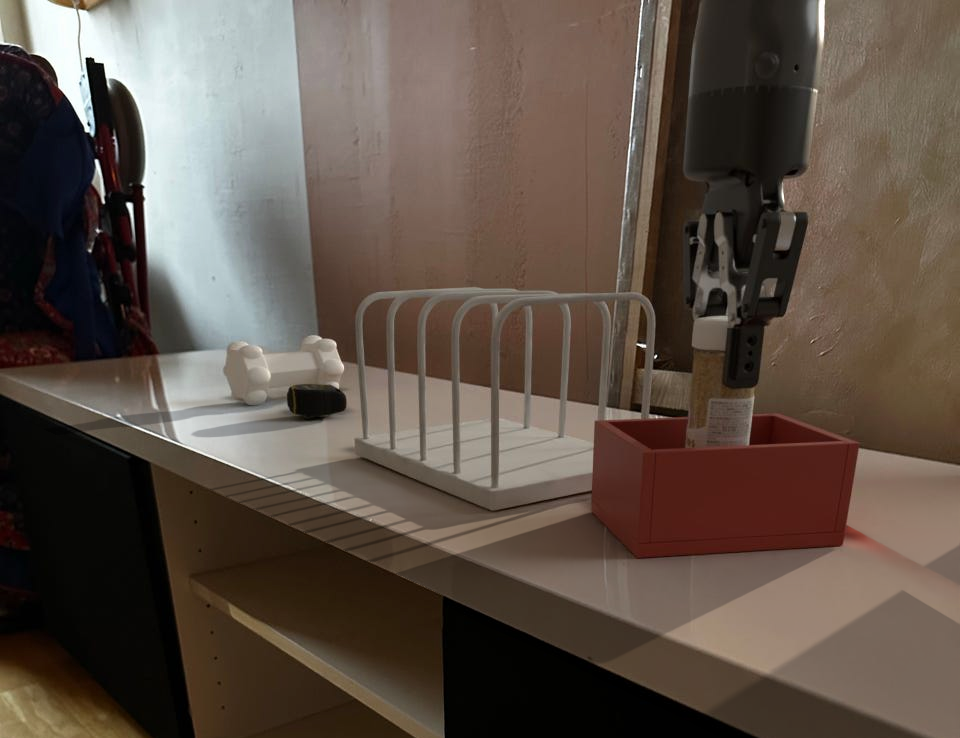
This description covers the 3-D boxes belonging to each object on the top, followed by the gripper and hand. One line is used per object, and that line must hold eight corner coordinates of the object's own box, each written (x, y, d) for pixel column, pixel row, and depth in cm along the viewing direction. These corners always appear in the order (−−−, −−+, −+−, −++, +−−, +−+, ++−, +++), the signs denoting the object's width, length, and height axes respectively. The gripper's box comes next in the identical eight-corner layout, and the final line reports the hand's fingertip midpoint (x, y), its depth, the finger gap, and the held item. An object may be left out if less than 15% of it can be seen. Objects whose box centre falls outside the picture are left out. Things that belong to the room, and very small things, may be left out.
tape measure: (349, 419, 107) (347, 388, 105) (293, 423, 105) (290, 391, 103) (337, 410, 113) (335, 381, 111) (284, 414, 111) (281, 384, 109)
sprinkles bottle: (675, 505, 65) (689, 315, 60) (736, 505, 65) (757, 314, 59) (682, 522, 61) (698, 320, 56) (748, 523, 61) (771, 319, 55)
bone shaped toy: (317, 390, 130) (312, 333, 126) (349, 396, 124) (345, 336, 120) (224, 402, 121) (216, 340, 117) (254, 409, 115) (247, 344, 111)
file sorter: (354, 457, 87) (341, 289, 80) (497, 436, 95) (497, 283, 89) (492, 513, 68) (490, 298, 61) (656, 481, 76) (670, 290, 70)
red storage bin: (767, 501, 70) (778, 413, 67) (843, 545, 59) (860, 442, 56) (590, 511, 68) (594, 420, 65) (636, 558, 57) (643, 452, 54)
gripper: (876, 67, 46) (828, 396, 53) (759, 108, 59) (732, 368, 66) (743, 66, 45) (711, 400, 52) (653, 107, 58) (638, 371, 65)
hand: (723, 381), depth 59 cm, fingers closed on sprinkles bottle, 4 cm apart
